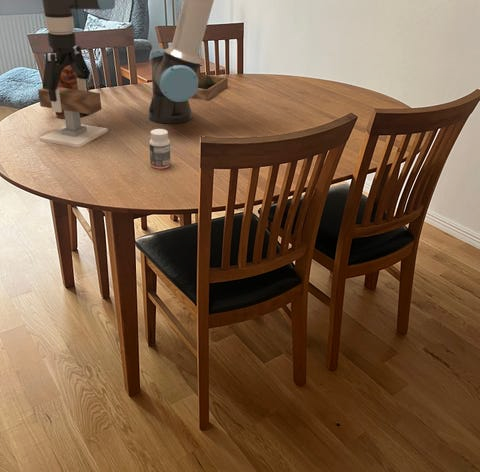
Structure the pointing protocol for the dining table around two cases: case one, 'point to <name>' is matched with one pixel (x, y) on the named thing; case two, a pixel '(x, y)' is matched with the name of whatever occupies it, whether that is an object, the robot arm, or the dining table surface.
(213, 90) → the wooden tray
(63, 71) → the wooden figurine
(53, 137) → the fulcrum
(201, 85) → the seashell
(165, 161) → the pill bottle
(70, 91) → the bar
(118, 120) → the dining table surface
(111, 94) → the dining table surface
